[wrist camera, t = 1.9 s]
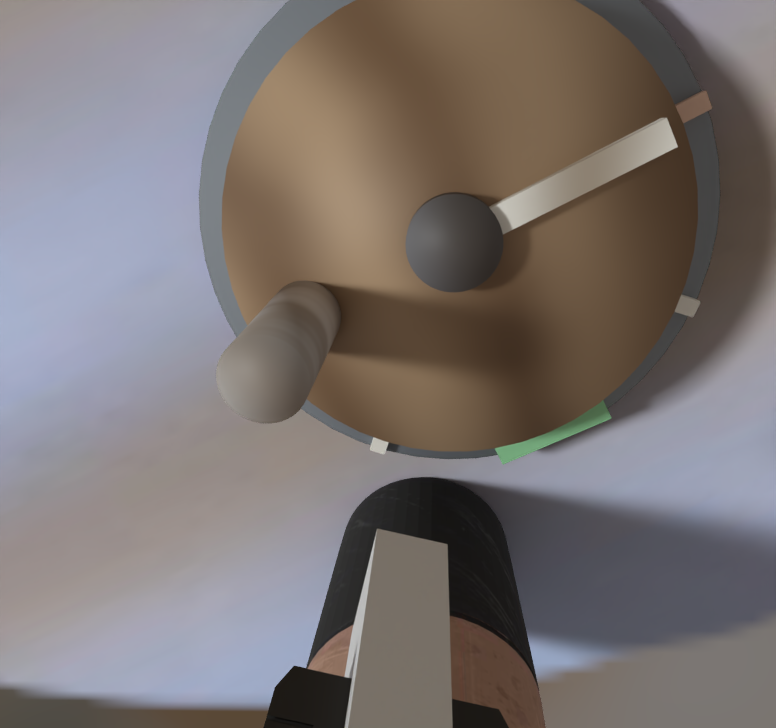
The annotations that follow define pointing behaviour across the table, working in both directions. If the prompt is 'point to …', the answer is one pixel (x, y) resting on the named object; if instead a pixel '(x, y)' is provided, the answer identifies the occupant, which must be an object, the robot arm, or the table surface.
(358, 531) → the travel mug
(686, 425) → the table surface
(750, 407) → the table surface
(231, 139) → the gauge plate
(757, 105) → the table surface
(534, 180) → the dial
